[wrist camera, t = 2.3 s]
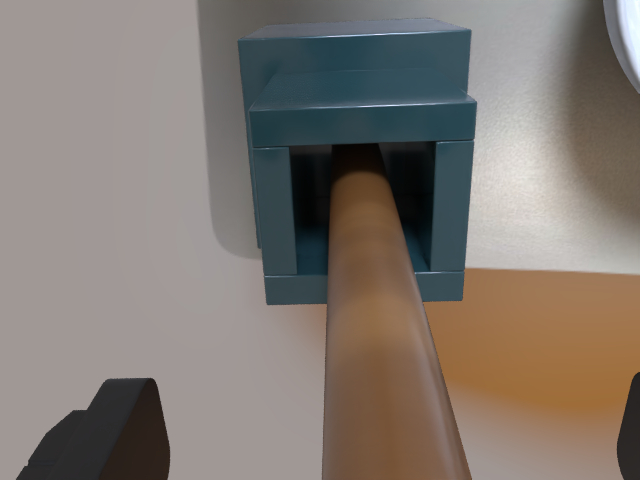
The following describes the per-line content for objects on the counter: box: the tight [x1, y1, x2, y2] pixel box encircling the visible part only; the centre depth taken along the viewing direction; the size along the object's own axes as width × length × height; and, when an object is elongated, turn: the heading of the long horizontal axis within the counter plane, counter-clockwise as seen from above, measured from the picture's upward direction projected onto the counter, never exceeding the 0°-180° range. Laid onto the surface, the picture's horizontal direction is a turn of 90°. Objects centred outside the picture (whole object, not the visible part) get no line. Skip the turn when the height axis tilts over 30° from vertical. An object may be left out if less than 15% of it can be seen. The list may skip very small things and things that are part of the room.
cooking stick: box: [322, 143, 472, 480], centre depth 16 cm, size 2×2×20 cm
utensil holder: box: [238, 18, 477, 305], centre depth 27 cm, size 10×10×19 cm
